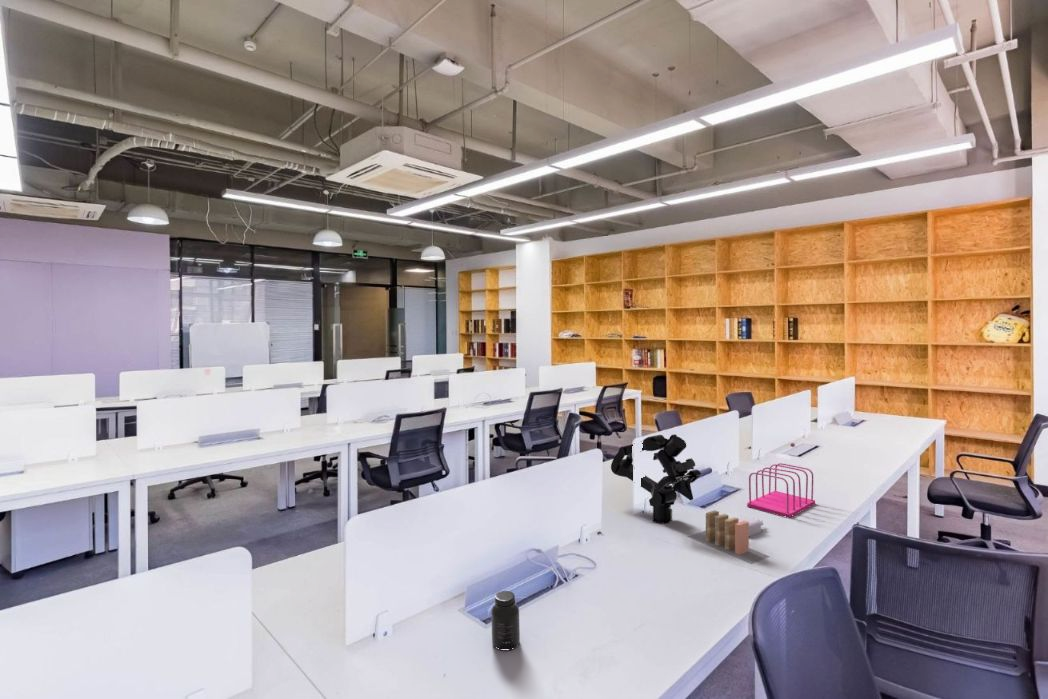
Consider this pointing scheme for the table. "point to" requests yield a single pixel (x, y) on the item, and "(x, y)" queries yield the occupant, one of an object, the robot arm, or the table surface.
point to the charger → (751, 524)
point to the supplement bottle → (505, 621)
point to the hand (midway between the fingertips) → (692, 499)
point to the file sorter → (781, 494)
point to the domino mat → (748, 557)
